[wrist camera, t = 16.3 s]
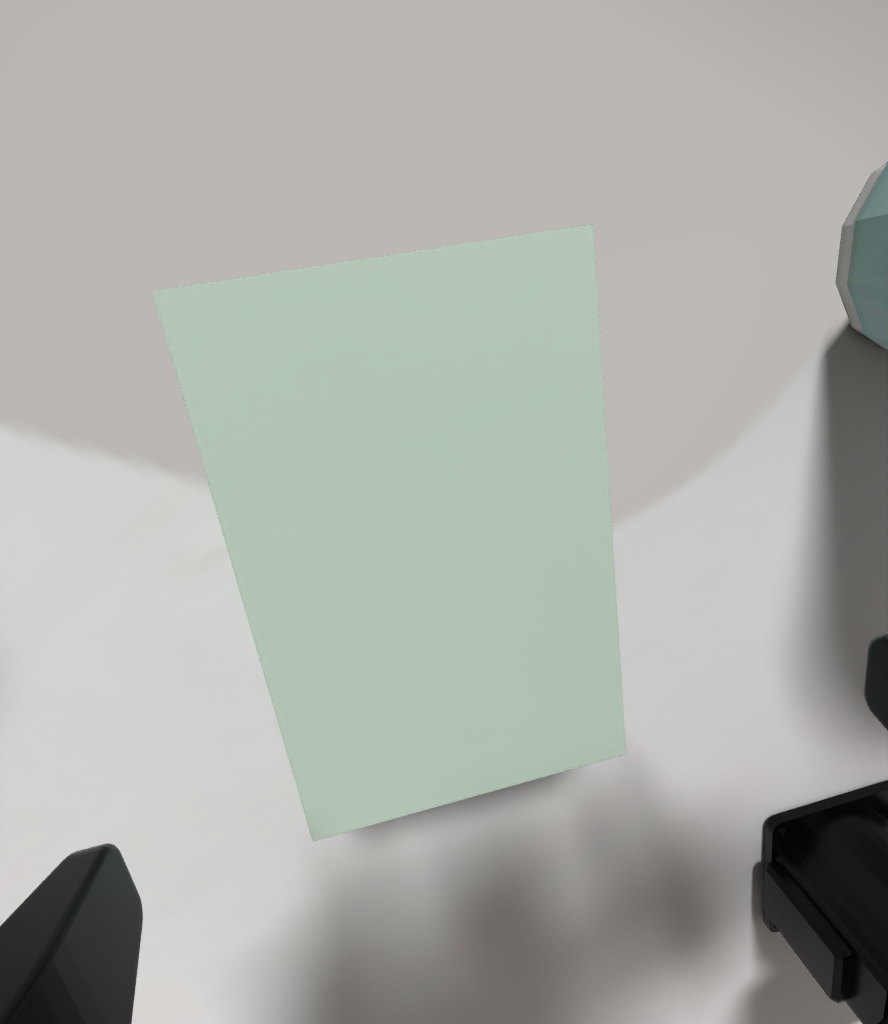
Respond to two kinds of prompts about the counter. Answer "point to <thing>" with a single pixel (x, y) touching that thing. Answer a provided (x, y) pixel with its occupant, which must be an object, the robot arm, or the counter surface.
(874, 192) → the disposable coffee cup
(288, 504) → the sage green rectangular block
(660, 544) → the counter surface
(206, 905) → the counter surface
